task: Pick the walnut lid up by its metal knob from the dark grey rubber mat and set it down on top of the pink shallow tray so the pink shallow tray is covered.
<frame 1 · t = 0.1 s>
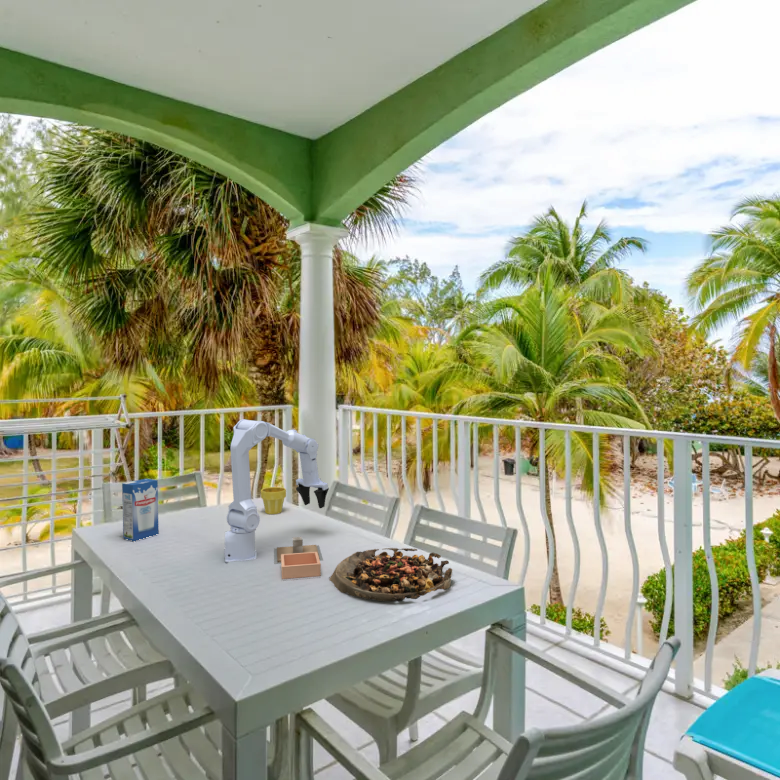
hand: (314, 505, 202), 11 cm above the table, tool pointing down, fingers open, 7 cm apart
food dish: (390, 581, 160), on the table
milk carton: (141, 537, 200), on the table
plant pot: (273, 512, 234), on the table
mat: (297, 555, 180), on the table
pink shallow tray: (300, 572, 165), on the table
lid: (297, 554, 179), resting on mat
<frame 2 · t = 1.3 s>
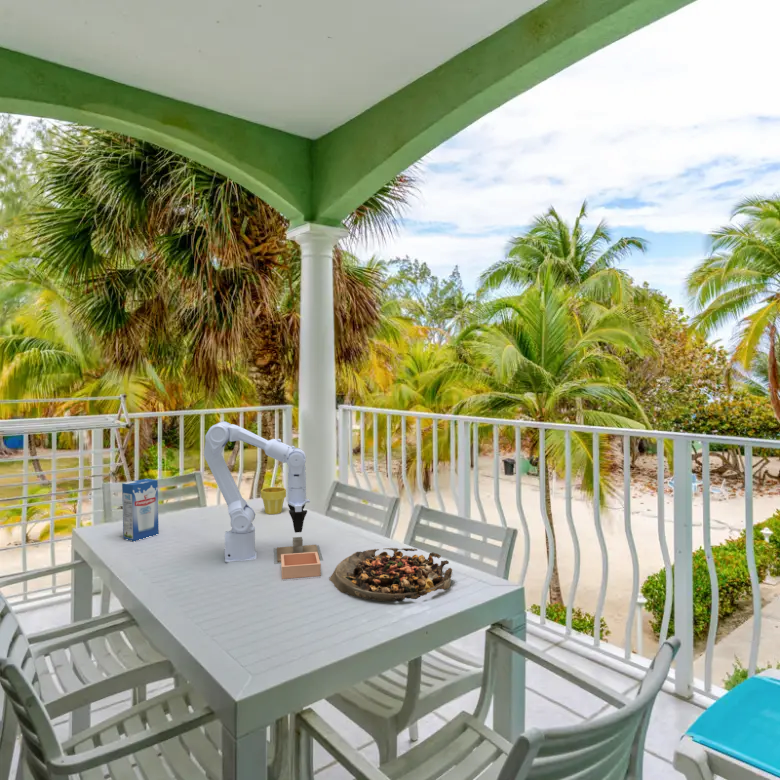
hand: (297, 528, 179), 9 cm above the table, tool pointing down, fingers open, 7 cm apart
nothing on the table moved.
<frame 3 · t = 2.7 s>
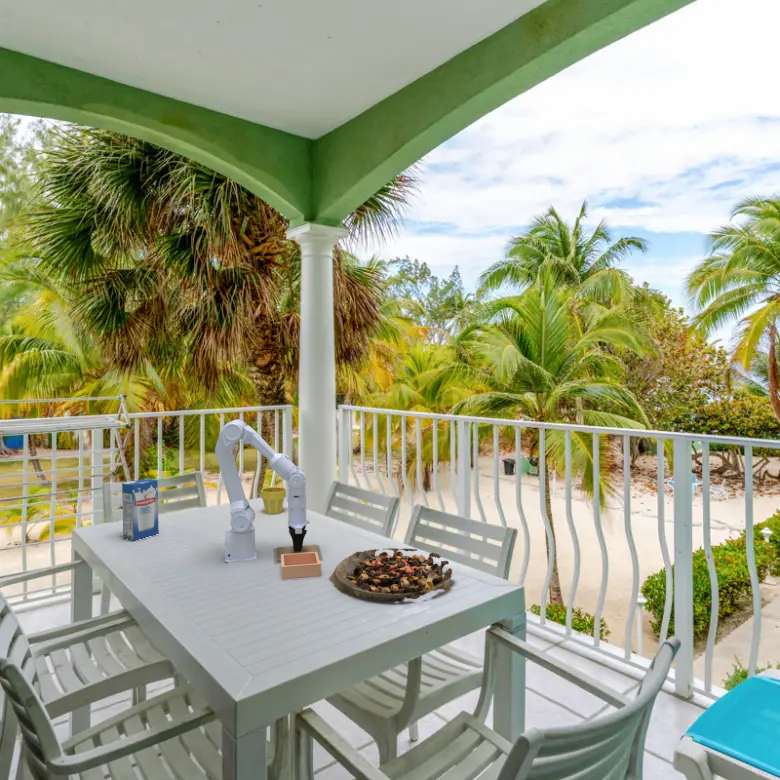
hand: (297, 549, 179), 2 cm above the table, tool pointing down, fingers closed on lid, 3 cm apart
lid: (297, 554, 179), resting on mat, touching gripper
everything else where it was.
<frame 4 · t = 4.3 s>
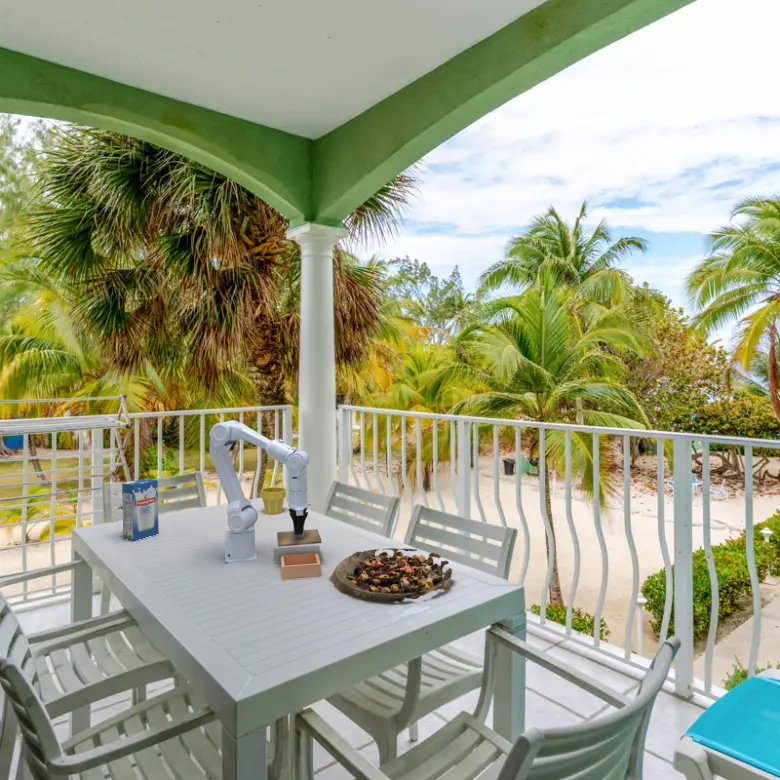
hand: (298, 532, 174), 9 cm above the table, tool pointing down, fingers closed on lid, 3 cm apart
lid: (298, 538, 174), point 7 cm above the table, touching gripper
everything else where it was.
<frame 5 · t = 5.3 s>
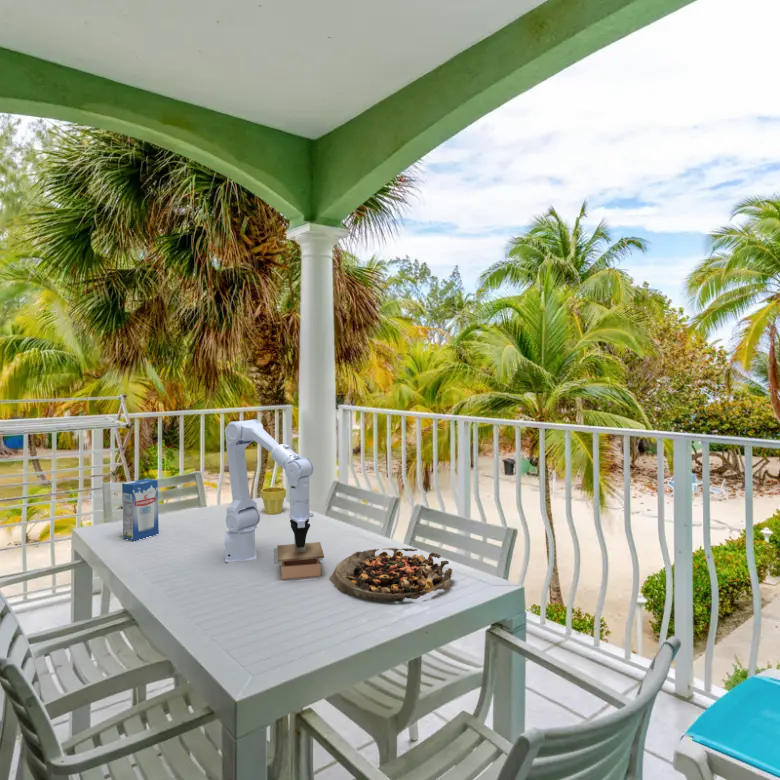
hand: (300, 545, 165), 8 cm above the table, tool pointing down, fingers closed on lid, 3 cm apart
lid: (300, 552, 165), point 6 cm above the table, touching gripper
everything else where it was.
when the fingers open (7 cm above the table, at t = 5.9 s): lid stays where it is, resting on pink shallow tray.
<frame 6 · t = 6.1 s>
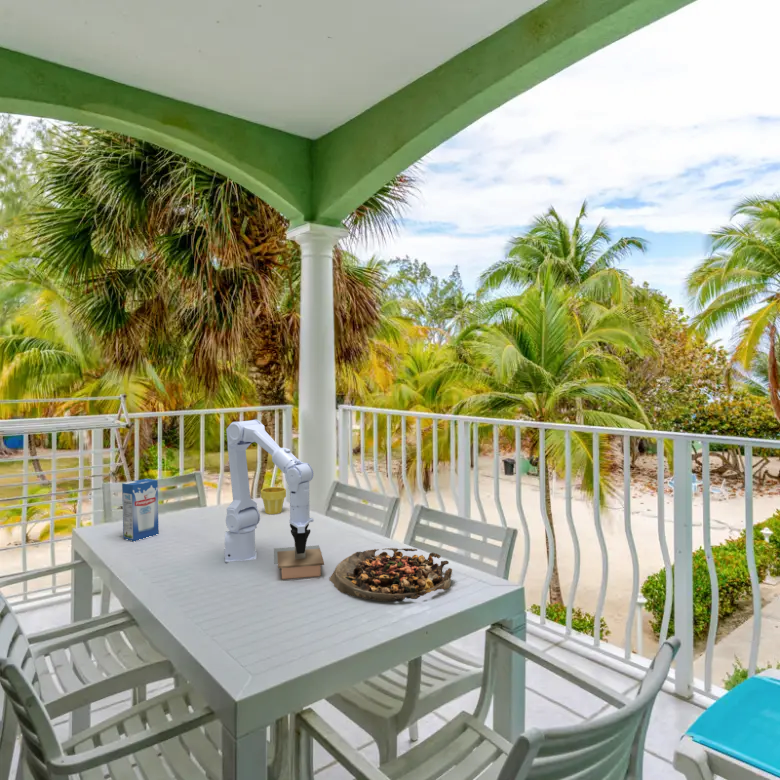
hand: (300, 550, 165), 7 cm above the table, tool pointing down, fingers open, 5 cm apart
lid: (300, 559, 165), point 4 cm above the table, touching pink shallow tray
everything else where it was.
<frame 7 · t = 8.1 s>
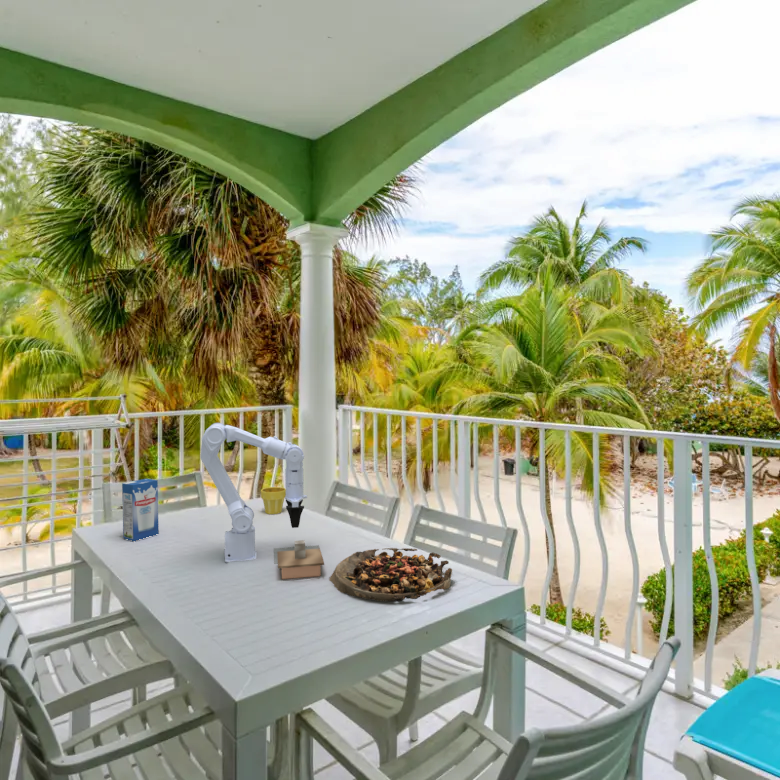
hand: (294, 524, 181), 10 cm above the table, tool pointing down, fingers open, 7 cm apart
nothing on the table moved.
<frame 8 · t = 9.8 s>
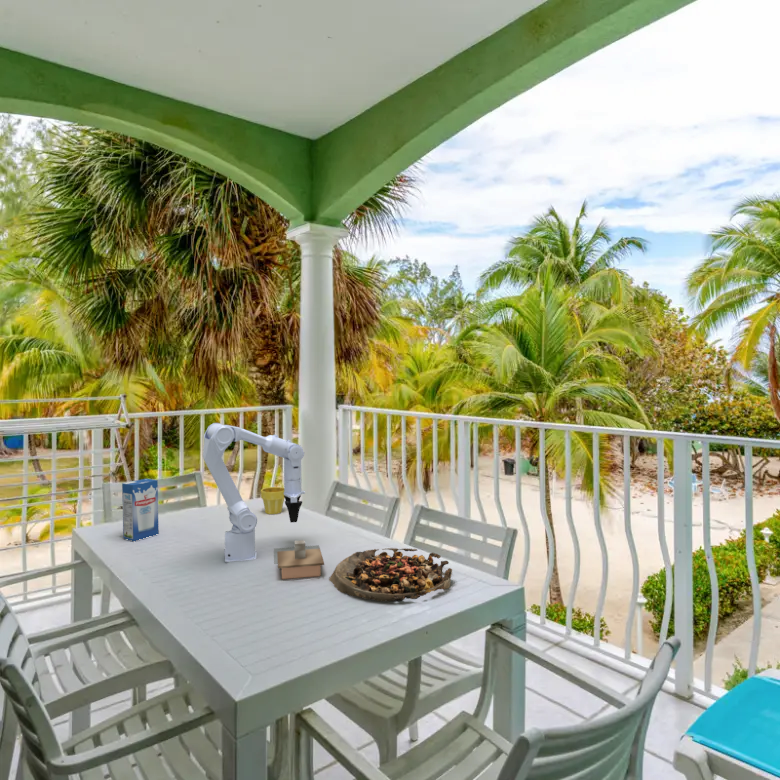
hand: (293, 519, 187), 10 cm above the table, tool pointing down, fingers open, 7 cm apart
nothing on the table moved.
at the end: lid 0.1 cm off-centre on the pink shallow tray, point 4.0 cm above the pink shallow tray's base; lid tilted 0°; the gripper is holding nothing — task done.
